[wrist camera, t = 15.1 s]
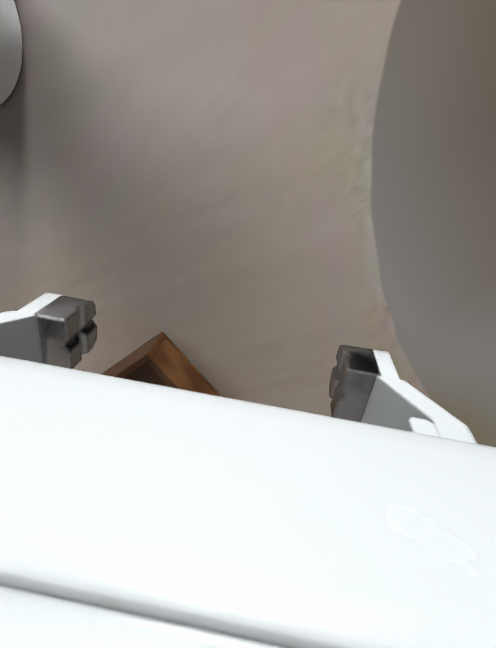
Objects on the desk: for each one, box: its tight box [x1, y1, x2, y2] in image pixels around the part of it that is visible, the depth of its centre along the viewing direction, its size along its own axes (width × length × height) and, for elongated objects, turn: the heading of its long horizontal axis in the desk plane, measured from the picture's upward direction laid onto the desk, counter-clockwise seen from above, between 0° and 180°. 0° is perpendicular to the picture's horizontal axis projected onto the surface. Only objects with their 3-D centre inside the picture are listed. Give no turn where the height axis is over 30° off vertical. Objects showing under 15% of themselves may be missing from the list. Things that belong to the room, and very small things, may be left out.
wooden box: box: [102, 332, 221, 397], centre depth 50 cm, size 17×15×5 cm
